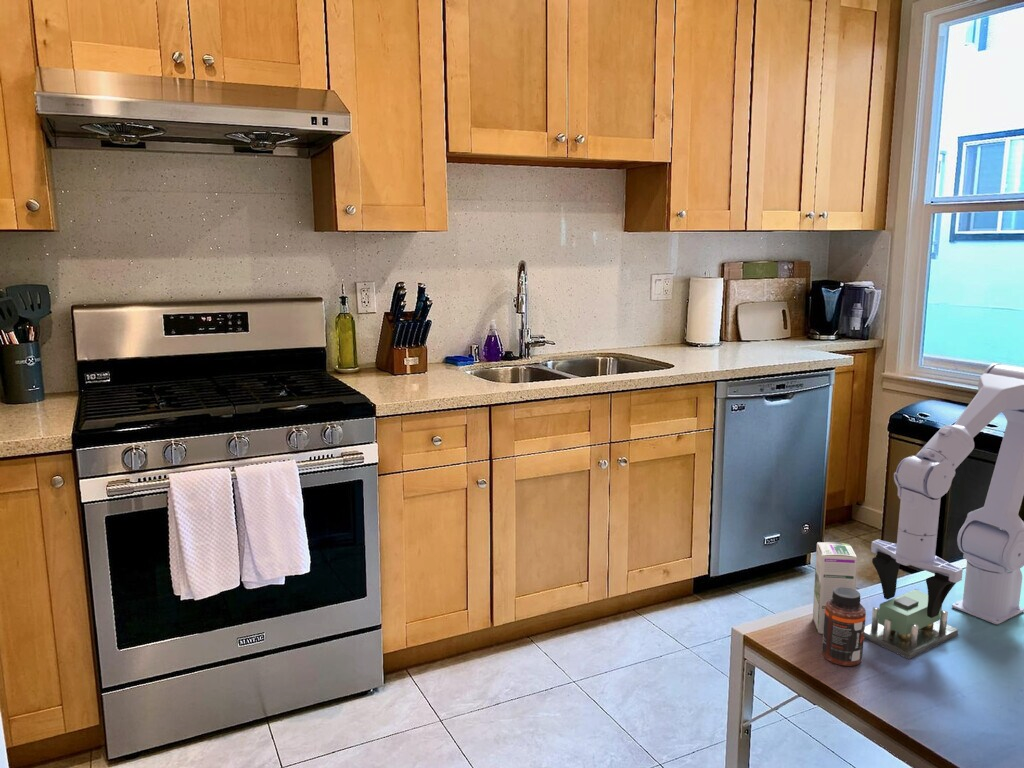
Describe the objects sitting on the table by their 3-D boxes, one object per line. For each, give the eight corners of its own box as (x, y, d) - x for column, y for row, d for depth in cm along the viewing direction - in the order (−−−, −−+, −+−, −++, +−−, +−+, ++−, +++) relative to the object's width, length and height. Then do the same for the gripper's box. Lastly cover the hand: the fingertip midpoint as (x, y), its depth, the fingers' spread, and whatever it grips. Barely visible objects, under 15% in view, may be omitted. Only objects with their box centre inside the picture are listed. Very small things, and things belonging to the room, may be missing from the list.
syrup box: (853, 637, 130) (860, 556, 127) (816, 634, 131) (822, 553, 128) (846, 621, 135) (852, 542, 132) (810, 618, 136) (815, 540, 134)
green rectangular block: (913, 608, 134) (915, 586, 134) (940, 619, 130) (942, 596, 130) (878, 623, 129) (880, 600, 128) (905, 635, 125) (907, 612, 124)
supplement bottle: (867, 668, 120) (873, 601, 118) (828, 667, 121) (833, 600, 119) (854, 648, 126) (859, 584, 124) (817, 647, 127) (821, 583, 125)
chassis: (906, 613, 138) (909, 589, 137) (957, 634, 130) (960, 610, 129) (858, 634, 131) (859, 610, 130) (908, 659, 123) (911, 633, 122)
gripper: (862, 520, 131) (856, 595, 133) (947, 549, 119) (939, 631, 121) (887, 512, 134) (881, 585, 137) (973, 539, 122) (964, 619, 125)
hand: (910, 606), depth 129 cm, fingers open, 7 cm apart
